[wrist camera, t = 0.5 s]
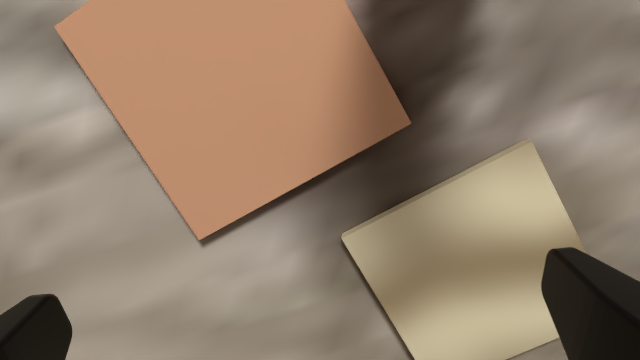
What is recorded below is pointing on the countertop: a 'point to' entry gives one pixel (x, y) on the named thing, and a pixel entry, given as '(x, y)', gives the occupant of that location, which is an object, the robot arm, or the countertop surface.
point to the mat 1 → (234, 94)
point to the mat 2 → (469, 259)
